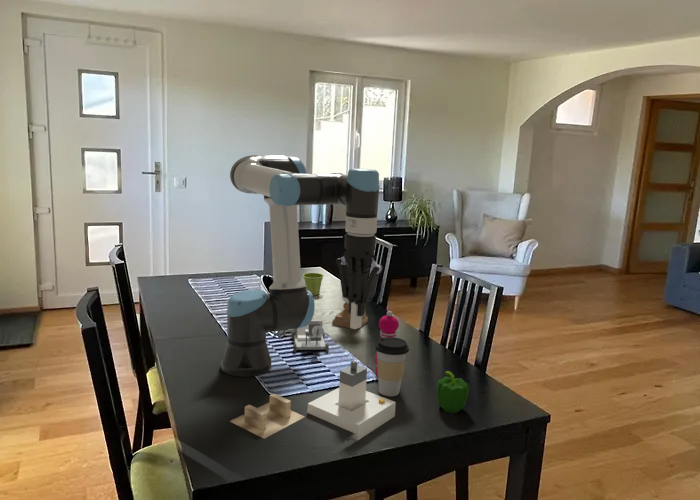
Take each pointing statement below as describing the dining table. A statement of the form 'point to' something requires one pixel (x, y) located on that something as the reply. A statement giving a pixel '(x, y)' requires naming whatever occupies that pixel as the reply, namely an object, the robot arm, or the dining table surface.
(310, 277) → the plant pot
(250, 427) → the plate with raised blocks
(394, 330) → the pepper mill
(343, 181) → the robot arm
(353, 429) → the port block
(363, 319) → the candle holder
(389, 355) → the coffee cup
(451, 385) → the bell pepper
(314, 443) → the dining table surface
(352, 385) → the plug
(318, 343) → the grey mechanical device
